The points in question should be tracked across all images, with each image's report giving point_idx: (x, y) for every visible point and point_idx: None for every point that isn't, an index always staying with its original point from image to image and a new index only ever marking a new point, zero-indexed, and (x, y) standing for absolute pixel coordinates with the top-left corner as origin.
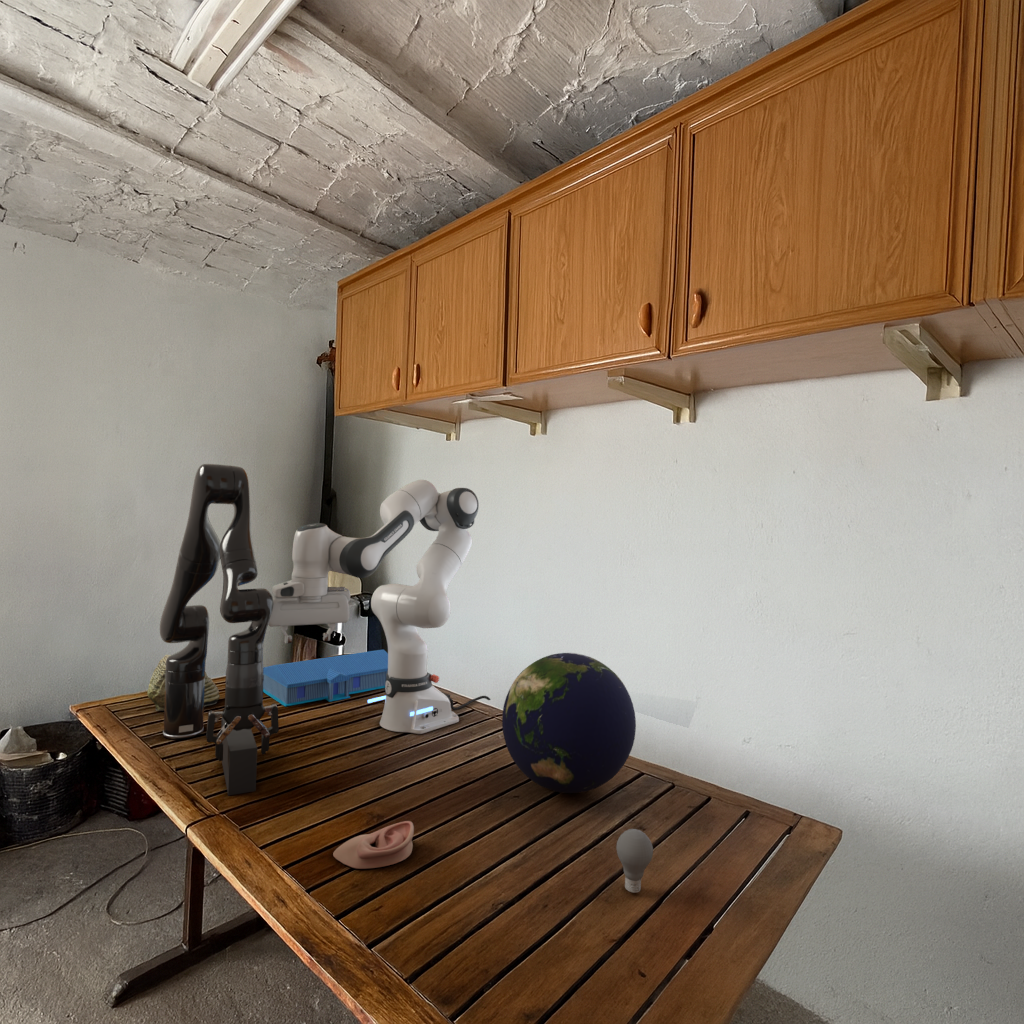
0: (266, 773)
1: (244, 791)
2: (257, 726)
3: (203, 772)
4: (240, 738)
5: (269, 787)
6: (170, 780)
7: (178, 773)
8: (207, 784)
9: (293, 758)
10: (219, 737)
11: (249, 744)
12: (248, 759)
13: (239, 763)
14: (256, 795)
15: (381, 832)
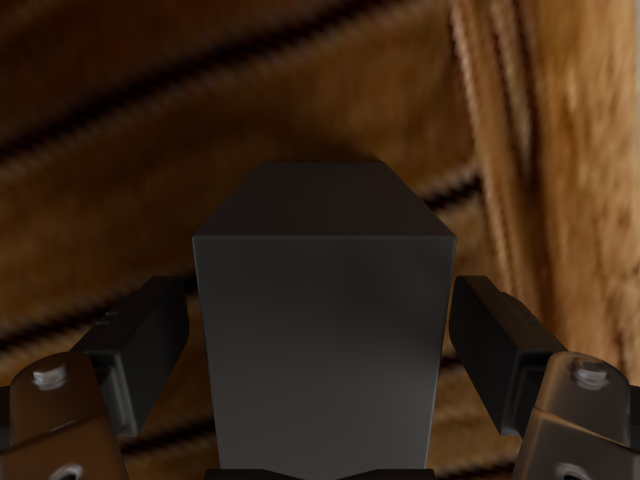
0: None
1: (311, 162)
2: (90, 473)
3: (442, 414)
4: (324, 472)
5: (196, 179)
6: None
7: None
8: (447, 309)
9: None
10: (619, 406)
11: (262, 333)
12: (284, 206)
13: (350, 198)
14: (259, 113)
15: None
